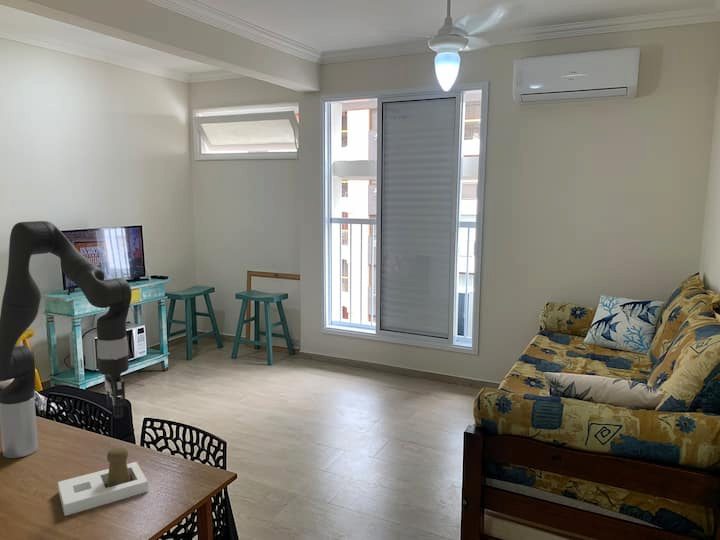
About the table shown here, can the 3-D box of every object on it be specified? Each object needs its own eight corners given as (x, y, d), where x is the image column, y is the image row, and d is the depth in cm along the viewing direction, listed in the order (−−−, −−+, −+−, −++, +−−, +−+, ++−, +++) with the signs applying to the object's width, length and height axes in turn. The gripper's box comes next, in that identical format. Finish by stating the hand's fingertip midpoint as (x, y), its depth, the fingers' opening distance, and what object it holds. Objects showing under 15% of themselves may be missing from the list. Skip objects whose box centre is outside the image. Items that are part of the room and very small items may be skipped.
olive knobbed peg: (122, 494, 143) (120, 455, 142) (102, 491, 144) (100, 453, 142) (135, 482, 149) (133, 445, 147) (115, 480, 150) (114, 443, 148)
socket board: (58, 492, 143) (57, 481, 143) (136, 471, 155) (136, 461, 154) (64, 516, 133) (63, 504, 132) (148, 491, 144) (147, 481, 144)
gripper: (92, 349, 145) (95, 406, 147) (102, 363, 133) (105, 424, 135) (122, 345, 149) (124, 400, 151) (134, 358, 137) (136, 418, 140)
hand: (115, 411), depth 143 cm, fingers open, 8 cm apart
